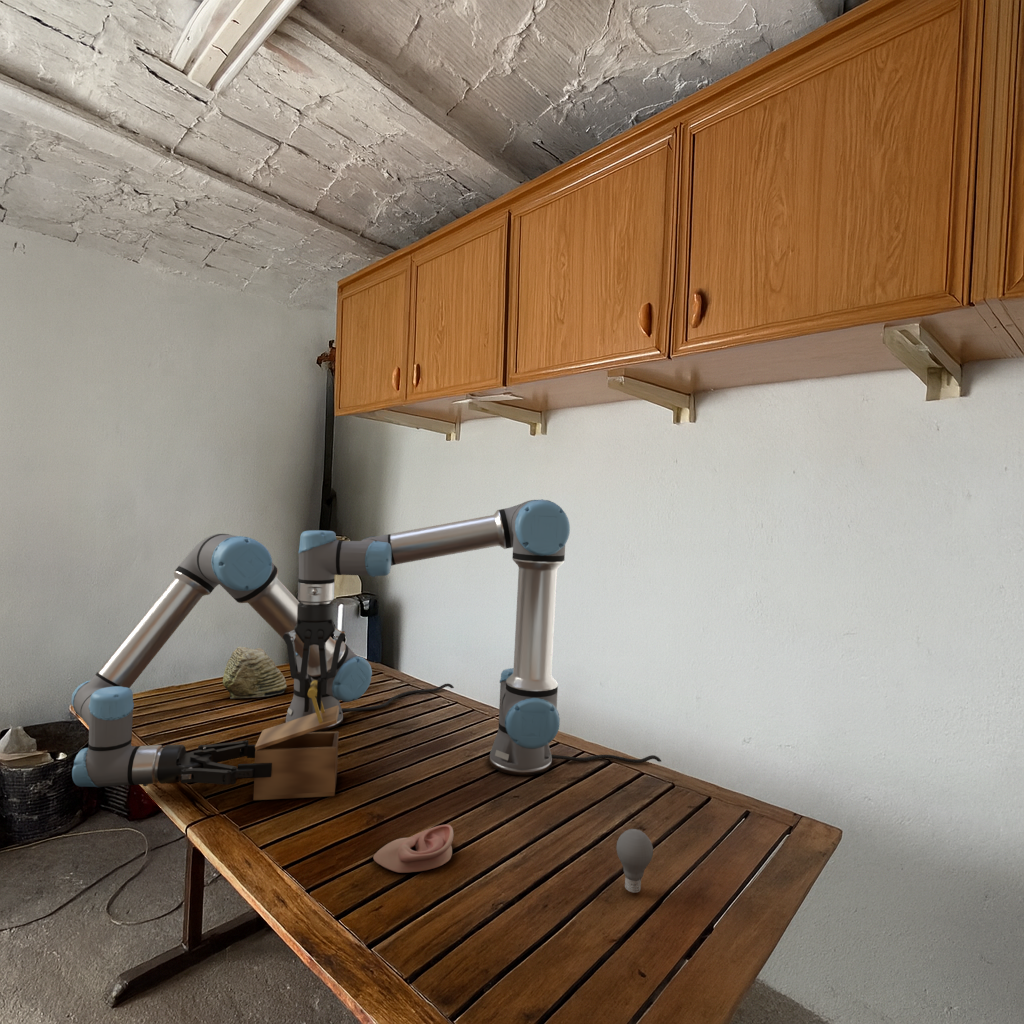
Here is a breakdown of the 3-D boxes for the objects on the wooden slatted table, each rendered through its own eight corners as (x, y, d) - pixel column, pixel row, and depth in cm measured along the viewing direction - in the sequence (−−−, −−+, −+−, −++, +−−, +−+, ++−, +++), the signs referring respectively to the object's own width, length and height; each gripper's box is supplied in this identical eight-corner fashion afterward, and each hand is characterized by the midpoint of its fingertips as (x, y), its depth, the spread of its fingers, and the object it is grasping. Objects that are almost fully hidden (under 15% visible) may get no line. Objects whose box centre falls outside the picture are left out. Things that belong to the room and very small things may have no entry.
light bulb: (610, 879, 108) (613, 822, 108) (644, 879, 109) (647, 822, 109) (619, 902, 102) (622, 840, 102) (655, 901, 103) (658, 840, 103)
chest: (336, 776, 144) (338, 731, 144) (334, 796, 134) (336, 747, 134) (261, 780, 140) (263, 733, 140) (253, 800, 131) (255, 750, 131)
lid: (339, 708, 143) (329, 674, 143) (336, 723, 134) (325, 686, 133) (263, 733, 140) (252, 698, 139) (255, 750, 131) (244, 713, 130)
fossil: (218, 695, 195) (220, 647, 195) (278, 685, 208) (279, 640, 207) (228, 703, 189) (230, 653, 188) (289, 692, 201) (290, 645, 201)
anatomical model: (366, 844, 109) (392, 812, 120) (365, 867, 109) (391, 833, 120) (440, 856, 106) (459, 823, 117) (439, 880, 106) (458, 844, 117)
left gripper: (177, 760, 142) (281, 756, 147) (141, 808, 121) (265, 801, 125) (178, 727, 142) (283, 724, 147) (142, 769, 121) (267, 763, 125)
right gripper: (277, 604, 132) (274, 717, 132) (350, 604, 135) (347, 714, 136) (282, 598, 139) (279, 705, 140) (351, 599, 142) (348, 702, 143)
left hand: (275, 759), depth 136 cm, fingers closed on chest, 10 cm apart
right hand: (312, 709), depth 138 cm, fingers closed on lid, 2 cm apart
